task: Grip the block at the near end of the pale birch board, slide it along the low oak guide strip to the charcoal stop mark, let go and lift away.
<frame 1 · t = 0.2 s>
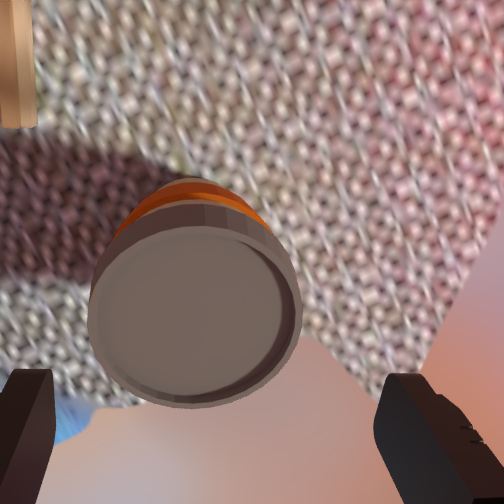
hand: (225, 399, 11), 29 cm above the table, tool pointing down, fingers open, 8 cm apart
reusable coffee cup: (193, 227, 40), on the table
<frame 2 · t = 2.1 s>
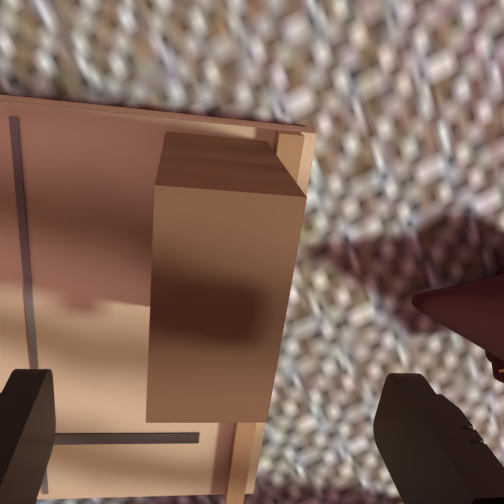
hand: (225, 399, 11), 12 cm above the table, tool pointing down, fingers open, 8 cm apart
icecream: (502, 286, 26), on the table
block: (208, 230, 20), point 1 cm above the table, touching board
board: (137, 325, 23), on the table
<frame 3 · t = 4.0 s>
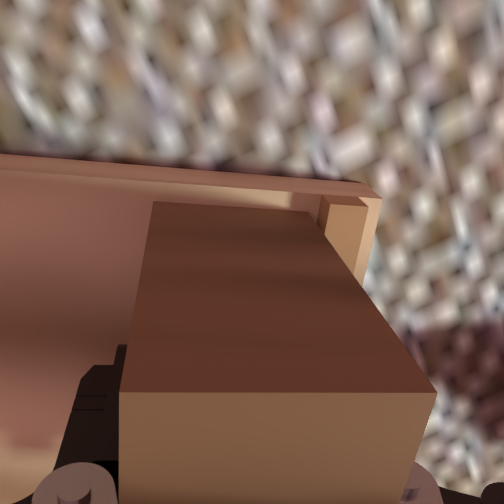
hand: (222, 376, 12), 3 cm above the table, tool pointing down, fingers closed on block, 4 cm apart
block: (219, 337, 14), point 2 cm above the table, touching board, gripper
board: (118, 450, 17), on the table
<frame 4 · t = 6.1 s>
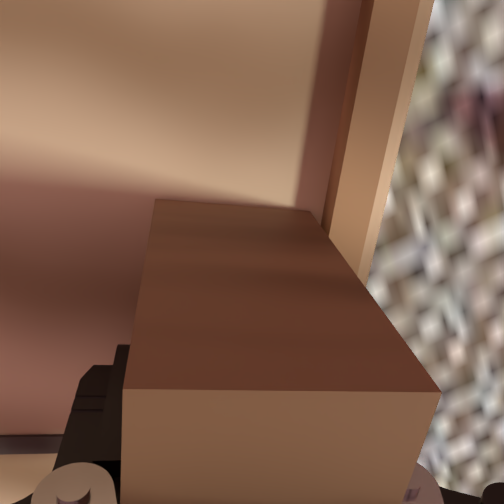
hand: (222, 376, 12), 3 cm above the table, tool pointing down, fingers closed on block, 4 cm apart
block: (219, 335, 14), point 2 cm above the table, touching gripper
board: (125, 250, 14), on the table
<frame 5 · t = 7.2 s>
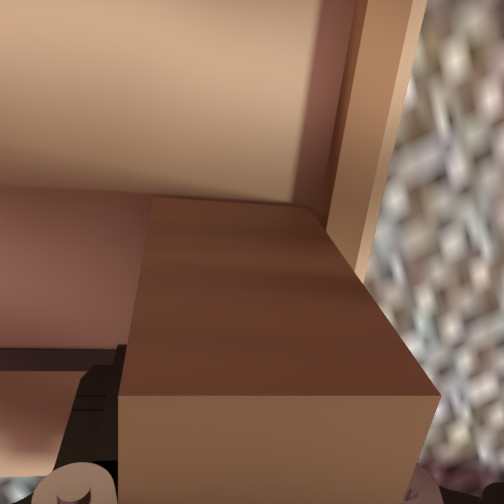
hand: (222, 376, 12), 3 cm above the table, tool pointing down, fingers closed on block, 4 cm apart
block: (219, 333, 14), point 2 cm above the table, touching board, gripper
board: (122, 141, 13), on the table
when the fingers open (3 cm above the table, at t = 8.2 s): block stays where it is, resting on board.
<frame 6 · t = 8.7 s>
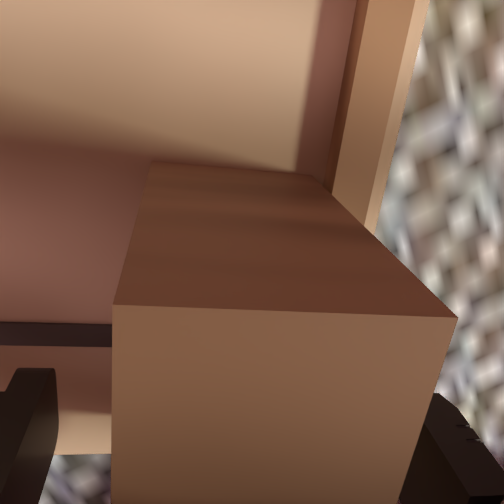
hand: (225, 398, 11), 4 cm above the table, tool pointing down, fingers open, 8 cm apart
block: (218, 308, 13), point 2 cm above the table, touching board
board: (118, 106, 12), on the table
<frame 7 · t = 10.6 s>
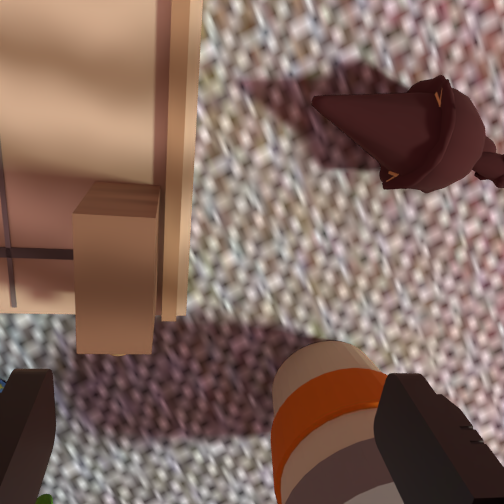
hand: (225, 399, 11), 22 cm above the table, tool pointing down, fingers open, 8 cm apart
icecream: (395, 129, 33), on the table
reusable coffee cup: (322, 383, 40), on the table
block: (127, 242, 31), point 2 cm above the table, touching board
board: (83, 159, 30), on the table
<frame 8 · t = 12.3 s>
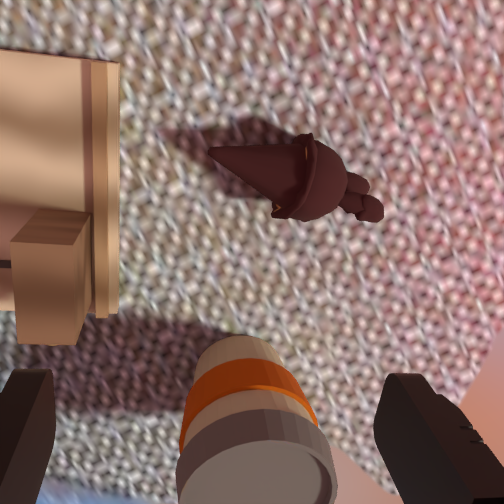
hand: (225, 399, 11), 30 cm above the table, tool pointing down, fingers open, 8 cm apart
icecream: (289, 168, 41), on the table
reusable coffee cup: (238, 370, 49), on the table
block: (66, 256, 39), point 2 cm above the table, touching board
board: (30, 190, 38), on the table
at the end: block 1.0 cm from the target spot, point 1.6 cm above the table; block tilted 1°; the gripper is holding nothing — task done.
